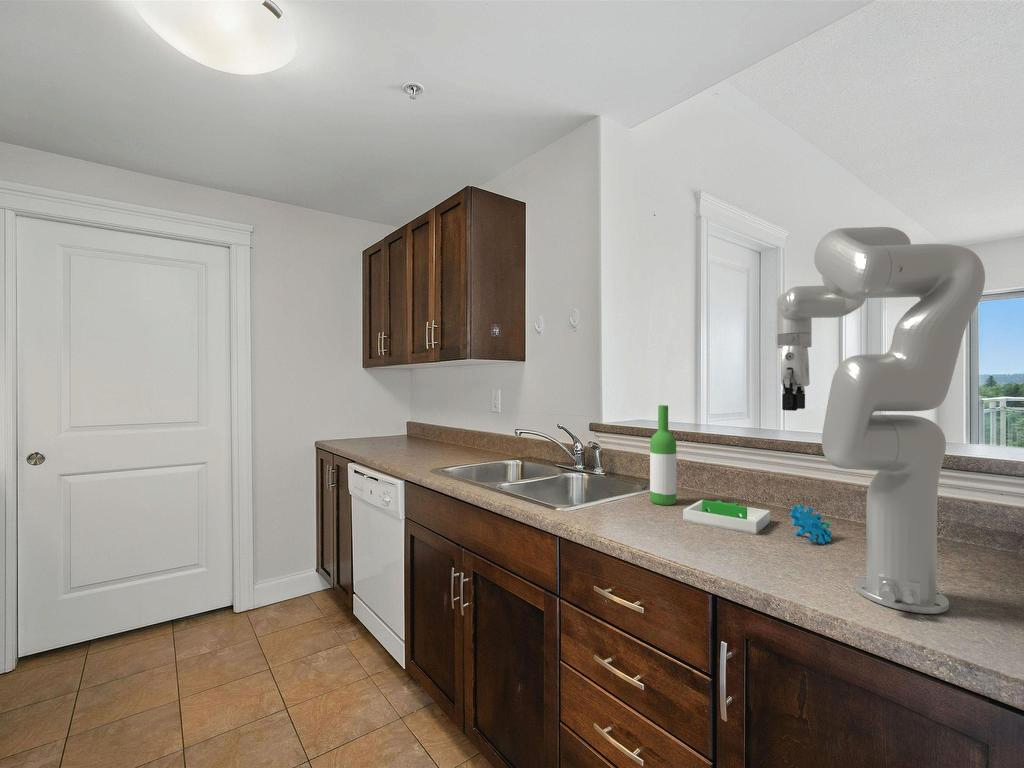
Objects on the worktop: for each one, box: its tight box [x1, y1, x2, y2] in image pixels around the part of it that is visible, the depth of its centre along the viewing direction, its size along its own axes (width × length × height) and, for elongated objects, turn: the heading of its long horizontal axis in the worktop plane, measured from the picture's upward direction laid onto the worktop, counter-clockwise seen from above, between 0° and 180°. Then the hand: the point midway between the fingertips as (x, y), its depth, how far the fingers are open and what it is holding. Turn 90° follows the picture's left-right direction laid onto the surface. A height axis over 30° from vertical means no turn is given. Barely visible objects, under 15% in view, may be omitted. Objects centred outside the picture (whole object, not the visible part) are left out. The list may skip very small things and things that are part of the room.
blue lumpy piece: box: [788, 504, 833, 546], centre depth 115 cm, size 11×6×10 cm
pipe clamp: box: [702, 499, 748, 520], centre depth 128 cm, size 11×4×5 cm, turn 48°
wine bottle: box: [649, 404, 677, 506], centre depth 148 cm, size 8×8×30 cm
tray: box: [682, 499, 771, 536], centre depth 129 cm, size 14×18×3 cm
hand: (793, 409), depth 122 cm, fingers open, 9 cm apart
